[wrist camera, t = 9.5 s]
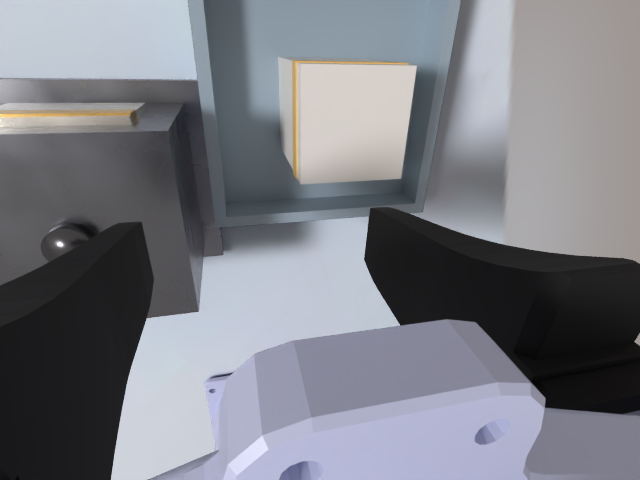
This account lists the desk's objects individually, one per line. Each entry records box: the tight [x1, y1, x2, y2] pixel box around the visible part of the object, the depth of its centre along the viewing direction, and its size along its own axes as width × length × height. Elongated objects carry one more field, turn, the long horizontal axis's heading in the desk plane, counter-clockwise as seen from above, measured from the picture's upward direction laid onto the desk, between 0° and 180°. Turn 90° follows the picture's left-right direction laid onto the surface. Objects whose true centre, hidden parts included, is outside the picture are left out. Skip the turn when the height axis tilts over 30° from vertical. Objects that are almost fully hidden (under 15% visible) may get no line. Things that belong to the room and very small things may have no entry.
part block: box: [278, 57, 417, 184], centre depth 17 cm, size 5×5×6 cm
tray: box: [188, 0, 461, 228], centre depth 19 cm, size 12×12×2 cm
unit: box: [0, 78, 223, 318], centre depth 16 cm, size 10×10×8 cm
